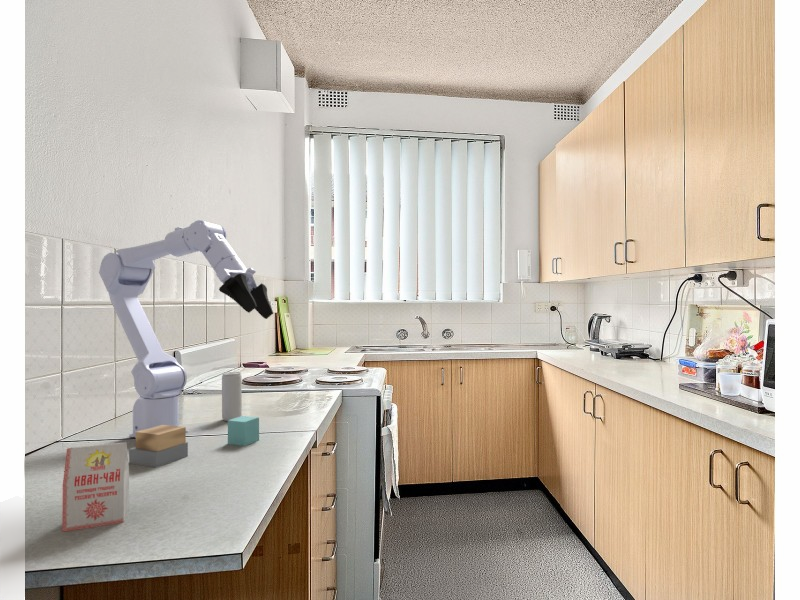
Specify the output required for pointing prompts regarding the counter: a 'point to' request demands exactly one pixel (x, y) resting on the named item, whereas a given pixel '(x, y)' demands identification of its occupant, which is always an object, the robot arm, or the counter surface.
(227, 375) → the beverage can
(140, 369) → the robot arm
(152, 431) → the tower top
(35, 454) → the counter surface
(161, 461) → the tower base
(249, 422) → the teal block
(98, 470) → the tea box
